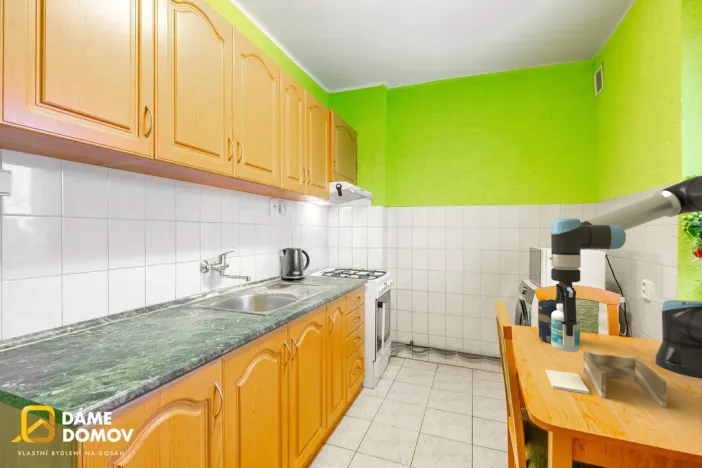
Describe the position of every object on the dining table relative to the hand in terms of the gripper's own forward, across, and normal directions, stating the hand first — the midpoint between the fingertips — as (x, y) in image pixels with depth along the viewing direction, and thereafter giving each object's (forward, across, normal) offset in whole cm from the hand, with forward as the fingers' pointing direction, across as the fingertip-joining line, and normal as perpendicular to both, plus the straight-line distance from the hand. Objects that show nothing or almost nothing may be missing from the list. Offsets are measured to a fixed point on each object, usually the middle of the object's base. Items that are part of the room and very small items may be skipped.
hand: (565, 341), depth 98 cm
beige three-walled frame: (+13, -1, +14) cm, 19 cm away
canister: (+13, -41, +3) cm, 43 cm away
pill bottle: (+2, 0, 0) cm, 2 cm away
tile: (+13, 0, 0) cm, 13 cm away
